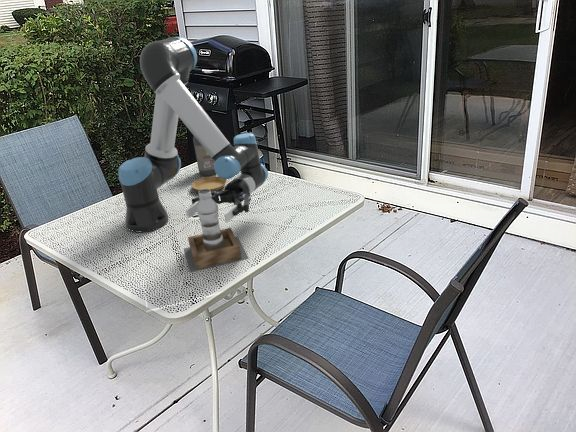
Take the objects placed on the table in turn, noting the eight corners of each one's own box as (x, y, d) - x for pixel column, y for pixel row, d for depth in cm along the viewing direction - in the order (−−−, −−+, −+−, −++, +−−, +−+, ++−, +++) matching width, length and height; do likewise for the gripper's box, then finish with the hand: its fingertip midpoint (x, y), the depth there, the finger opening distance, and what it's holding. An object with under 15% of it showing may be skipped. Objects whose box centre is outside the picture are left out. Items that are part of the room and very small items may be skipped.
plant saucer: (225, 193, 201) (224, 187, 200) (189, 196, 202) (188, 190, 201) (229, 180, 214) (228, 174, 213) (196, 183, 215) (195, 177, 214)
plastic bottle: (216, 257, 151) (205, 197, 142) (199, 252, 154) (188, 193, 145) (229, 247, 155) (220, 188, 147) (213, 243, 159) (203, 185, 150)
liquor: (221, 173, 222) (210, 107, 210) (201, 177, 220) (189, 110, 208) (217, 167, 230) (207, 103, 218) (198, 171, 228) (186, 106, 215)
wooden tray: (196, 269, 148) (193, 257, 146) (190, 248, 160) (187, 237, 158) (241, 258, 151) (239, 246, 149) (232, 239, 163) (230, 227, 161)
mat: (190, 273, 146) (189, 272, 146) (183, 249, 160) (183, 248, 160) (249, 259, 151) (248, 258, 151) (237, 237, 165) (237, 236, 165)
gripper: (274, 201, 163) (244, 231, 145) (209, 196, 172) (174, 223, 155) (272, 180, 159) (241, 208, 142) (206, 176, 169) (169, 201, 152)
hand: (206, 216), depth 149 cm, fingers open, 13 cm apart
